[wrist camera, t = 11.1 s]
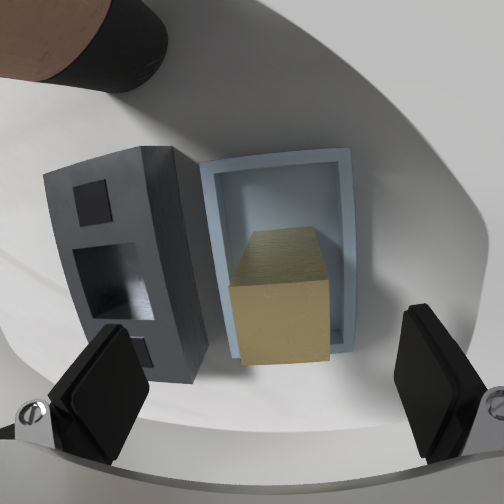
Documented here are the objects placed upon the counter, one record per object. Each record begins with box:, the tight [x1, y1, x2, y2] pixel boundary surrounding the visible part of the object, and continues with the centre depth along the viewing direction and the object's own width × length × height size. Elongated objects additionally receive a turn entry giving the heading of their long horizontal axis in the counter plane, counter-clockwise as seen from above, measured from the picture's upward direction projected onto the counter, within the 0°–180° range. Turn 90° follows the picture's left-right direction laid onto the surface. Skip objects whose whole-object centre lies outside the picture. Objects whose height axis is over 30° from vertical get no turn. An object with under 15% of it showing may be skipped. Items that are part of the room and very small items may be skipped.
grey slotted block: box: [43, 146, 209, 384], centre depth 21 cm, size 16×8×5 cm, turn 7°
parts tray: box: [199, 147, 356, 358], centre depth 21 cm, size 14×9×2 cm, turn 7°
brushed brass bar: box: [228, 226, 330, 365], centre depth 17 cm, size 4×4×9 cm
